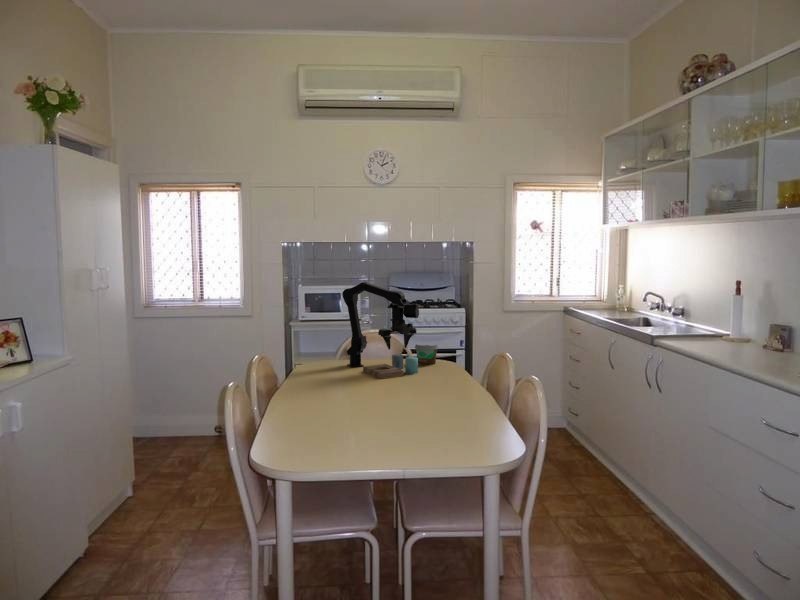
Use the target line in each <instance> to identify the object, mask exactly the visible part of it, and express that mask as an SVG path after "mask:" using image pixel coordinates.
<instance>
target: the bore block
mask: <svg viewBox="0 0 800 600" xmlns="http://www.w3.org/2000/svg"><path fill="white" fill-rule="evenodd" d="M362 371H363V373H366V374H368V375H370V376H373V377H376V378H378V379H381V380H382V379H383V380H384V379H389V378H397V377H403V376H404V369H403V370H400V369H398V368H395V367H392V365H390V364H388V363H380V364H372V365H371V364H370V365H364V366H362Z"/></svg>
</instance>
